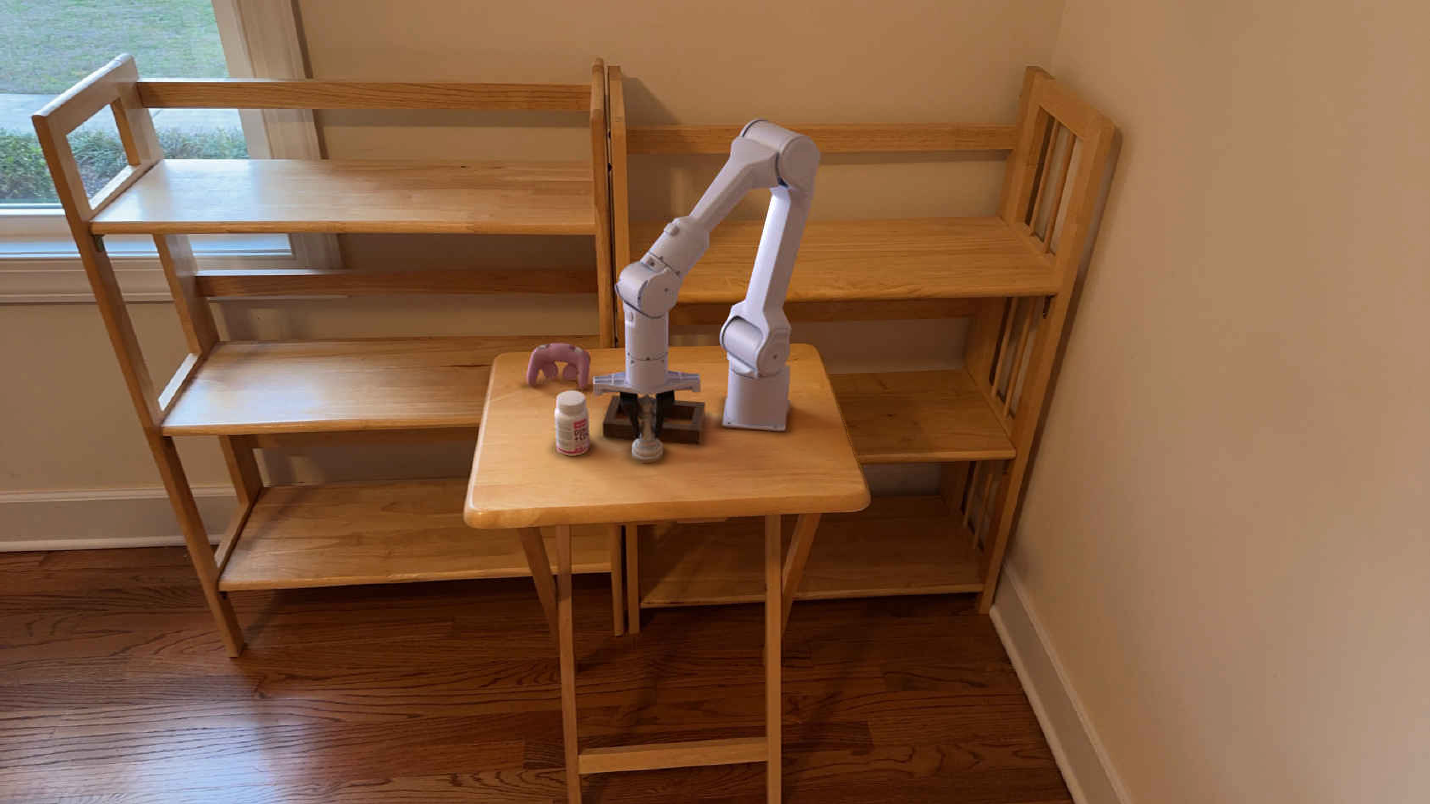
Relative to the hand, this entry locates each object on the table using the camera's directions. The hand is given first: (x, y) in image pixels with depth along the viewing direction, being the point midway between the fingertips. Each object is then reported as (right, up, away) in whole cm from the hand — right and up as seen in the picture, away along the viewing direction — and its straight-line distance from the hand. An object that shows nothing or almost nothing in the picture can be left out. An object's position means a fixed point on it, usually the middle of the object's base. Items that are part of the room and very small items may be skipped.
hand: (647, 434), depth 135 cm
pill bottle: (-11, -2, +3) cm, 11 cm away
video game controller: (-15, +8, +19) cm, 25 cm away
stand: (+1, +1, +8) cm, 8 cm away
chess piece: (0, -3, +2) cm, 4 cm away
